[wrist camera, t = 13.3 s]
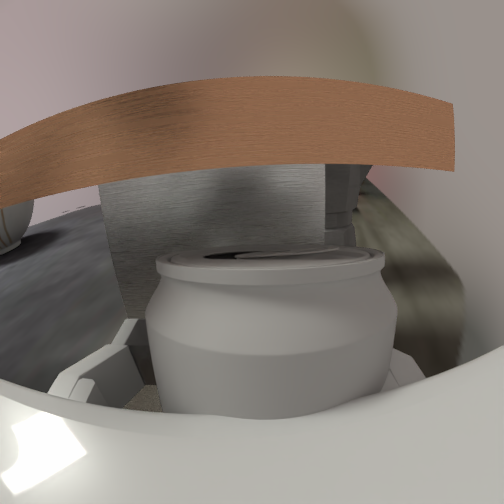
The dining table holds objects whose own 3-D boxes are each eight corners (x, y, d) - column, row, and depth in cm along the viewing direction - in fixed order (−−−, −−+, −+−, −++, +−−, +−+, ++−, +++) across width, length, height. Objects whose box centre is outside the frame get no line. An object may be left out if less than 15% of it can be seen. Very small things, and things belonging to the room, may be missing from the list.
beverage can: (248, 455, 12) (238, 239, 11) (357, 486, 9) (403, 240, 8) (171, 522, 7) (91, 255, 6) (301, 583, 4) (391, 275, 3)
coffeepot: (373, 264, 34) (378, 124, 28) (375, 301, 26) (386, 115, 20) (263, 254, 40) (257, 124, 33) (236, 284, 32) (223, 120, 25)
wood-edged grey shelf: (110, 474, 10) (-43, 164, 4) (150, 337, 23) (112, 145, 17) (361, 463, 11) (452, 103, 5) (307, 326, 24) (309, 126, 18)
